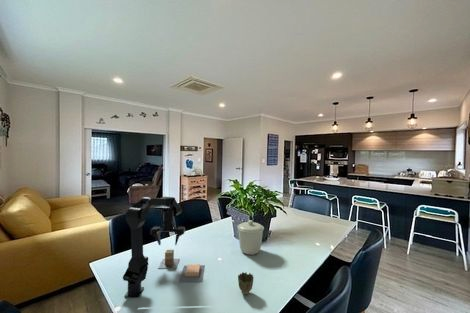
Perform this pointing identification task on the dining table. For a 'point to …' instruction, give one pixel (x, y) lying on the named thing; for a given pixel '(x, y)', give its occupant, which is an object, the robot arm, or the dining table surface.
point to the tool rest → (163, 266)
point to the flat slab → (192, 270)
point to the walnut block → (169, 257)
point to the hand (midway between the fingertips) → (167, 245)
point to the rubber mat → (192, 278)
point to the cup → (245, 282)
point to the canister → (250, 237)
